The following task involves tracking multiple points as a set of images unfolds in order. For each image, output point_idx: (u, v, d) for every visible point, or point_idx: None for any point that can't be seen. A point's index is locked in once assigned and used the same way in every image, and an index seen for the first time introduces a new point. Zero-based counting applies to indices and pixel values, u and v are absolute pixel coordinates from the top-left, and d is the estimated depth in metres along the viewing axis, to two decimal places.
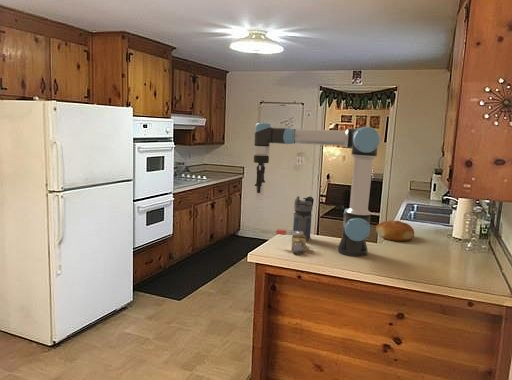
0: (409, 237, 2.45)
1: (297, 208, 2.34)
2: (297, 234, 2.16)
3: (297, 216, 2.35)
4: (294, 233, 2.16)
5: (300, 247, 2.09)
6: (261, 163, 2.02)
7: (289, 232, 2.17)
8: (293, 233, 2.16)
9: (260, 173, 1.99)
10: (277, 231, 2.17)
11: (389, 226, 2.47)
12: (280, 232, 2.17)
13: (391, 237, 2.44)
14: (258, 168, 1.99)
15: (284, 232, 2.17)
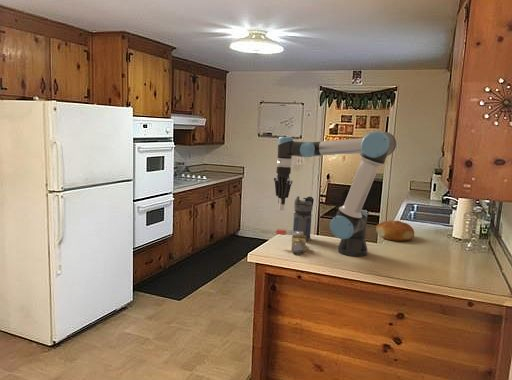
0: (409, 237, 2.45)
1: (297, 208, 2.34)
2: (297, 234, 2.16)
3: (297, 216, 2.35)
4: (294, 233, 2.16)
5: (300, 247, 2.09)
6: (288, 174, 2.18)
7: (289, 232, 2.17)
8: (293, 233, 2.16)
9: (289, 187, 2.18)
10: (277, 231, 2.17)
11: (389, 226, 2.47)
12: (280, 232, 2.17)
13: (391, 237, 2.44)
14: (288, 183, 2.16)
15: (284, 232, 2.17)
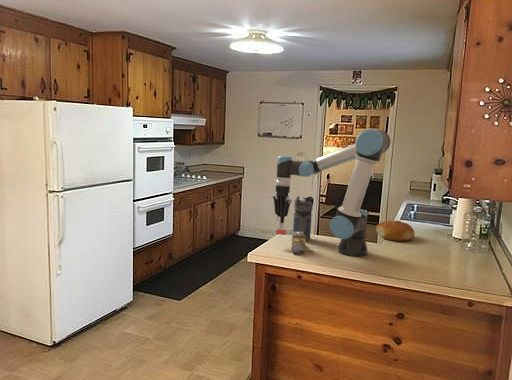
0: (409, 237, 2.45)
1: (297, 208, 2.34)
2: (297, 234, 2.16)
3: (297, 216, 2.35)
4: (294, 233, 2.16)
5: (300, 247, 2.09)
6: (287, 193, 2.19)
7: (289, 232, 2.17)
8: (293, 233, 2.16)
9: (288, 206, 2.19)
10: (277, 231, 2.17)
11: (389, 226, 2.47)
12: (280, 232, 2.17)
13: (391, 237, 2.44)
14: (288, 202, 2.17)
15: (284, 232, 2.17)
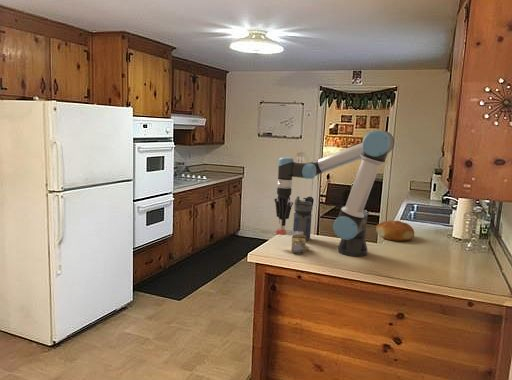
0: (409, 237, 2.45)
1: (297, 208, 2.34)
2: (297, 234, 2.16)
3: (297, 216, 2.35)
4: (294, 233, 2.16)
5: (300, 247, 2.09)
6: (289, 195, 2.15)
7: (289, 232, 2.16)
8: (293, 233, 2.16)
9: (289, 209, 2.15)
10: (277, 231, 2.17)
11: (389, 226, 2.47)
12: (280, 232, 2.17)
13: (391, 237, 2.44)
14: (289, 205, 2.14)
15: (284, 232, 2.16)
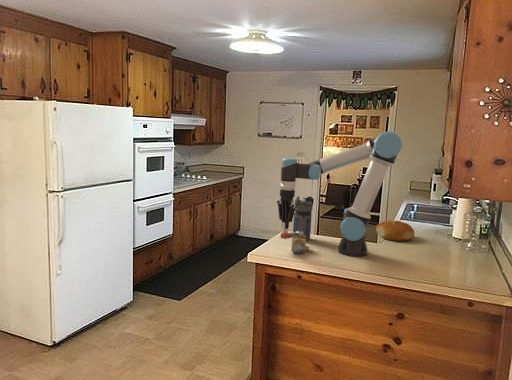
0: (409, 237, 2.45)
1: (297, 208, 2.34)
2: (300, 234, 2.15)
3: (297, 216, 2.35)
4: (297, 234, 2.15)
5: (300, 247, 2.09)
6: (292, 198, 2.07)
7: (293, 234, 2.13)
8: (296, 234, 2.14)
9: (292, 211, 2.08)
10: (285, 235, 2.09)
11: (389, 226, 2.47)
12: (287, 236, 2.10)
13: (391, 237, 2.44)
14: (292, 208, 2.06)
15: (290, 235, 2.11)
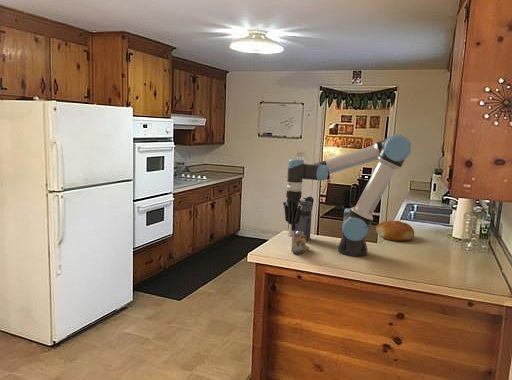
0: (409, 237, 2.45)
1: None
2: (302, 234, 2.16)
3: None
4: (301, 234, 2.14)
5: (300, 247, 2.09)
6: (299, 199, 2.05)
7: (300, 235, 2.12)
8: (301, 235, 2.14)
9: (299, 213, 2.05)
10: (299, 238, 2.06)
11: (389, 226, 2.47)
12: (299, 238, 2.07)
13: (391, 237, 2.44)
14: (299, 209, 2.03)
15: (300, 236, 2.09)
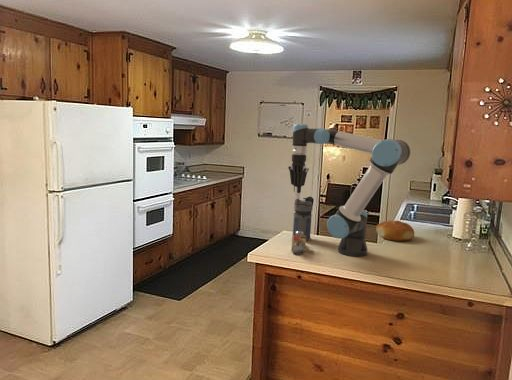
0: (409, 237, 2.45)
1: (297, 208, 2.34)
2: (302, 234, 2.16)
3: (297, 216, 2.35)
4: (301, 234, 2.14)
5: (300, 247, 2.09)
6: (304, 162, 2.16)
7: (300, 235, 2.12)
8: (301, 235, 2.14)
9: (305, 175, 2.15)
10: (299, 238, 2.06)
11: (389, 226, 2.47)
12: (299, 238, 2.07)
13: (391, 237, 2.44)
14: (305, 171, 2.14)
15: (300, 236, 2.09)
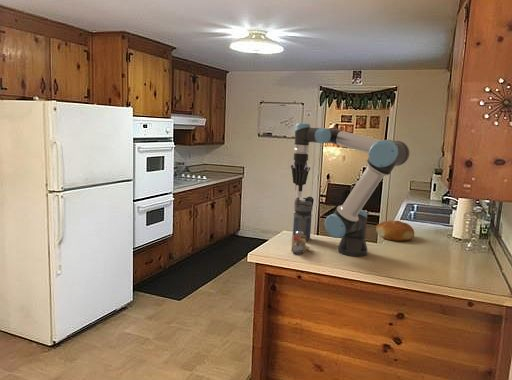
0: (409, 237, 2.45)
1: (297, 208, 2.34)
2: (302, 234, 2.16)
3: (297, 216, 2.35)
4: (301, 234, 2.14)
5: (300, 247, 2.09)
6: (306, 161, 2.17)
7: (300, 235, 2.12)
8: (301, 235, 2.14)
9: (306, 174, 2.17)
10: (299, 238, 2.06)
11: (389, 226, 2.47)
12: (299, 238, 2.07)
13: (391, 237, 2.44)
14: (306, 170, 2.16)
15: (300, 236, 2.09)
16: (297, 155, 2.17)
